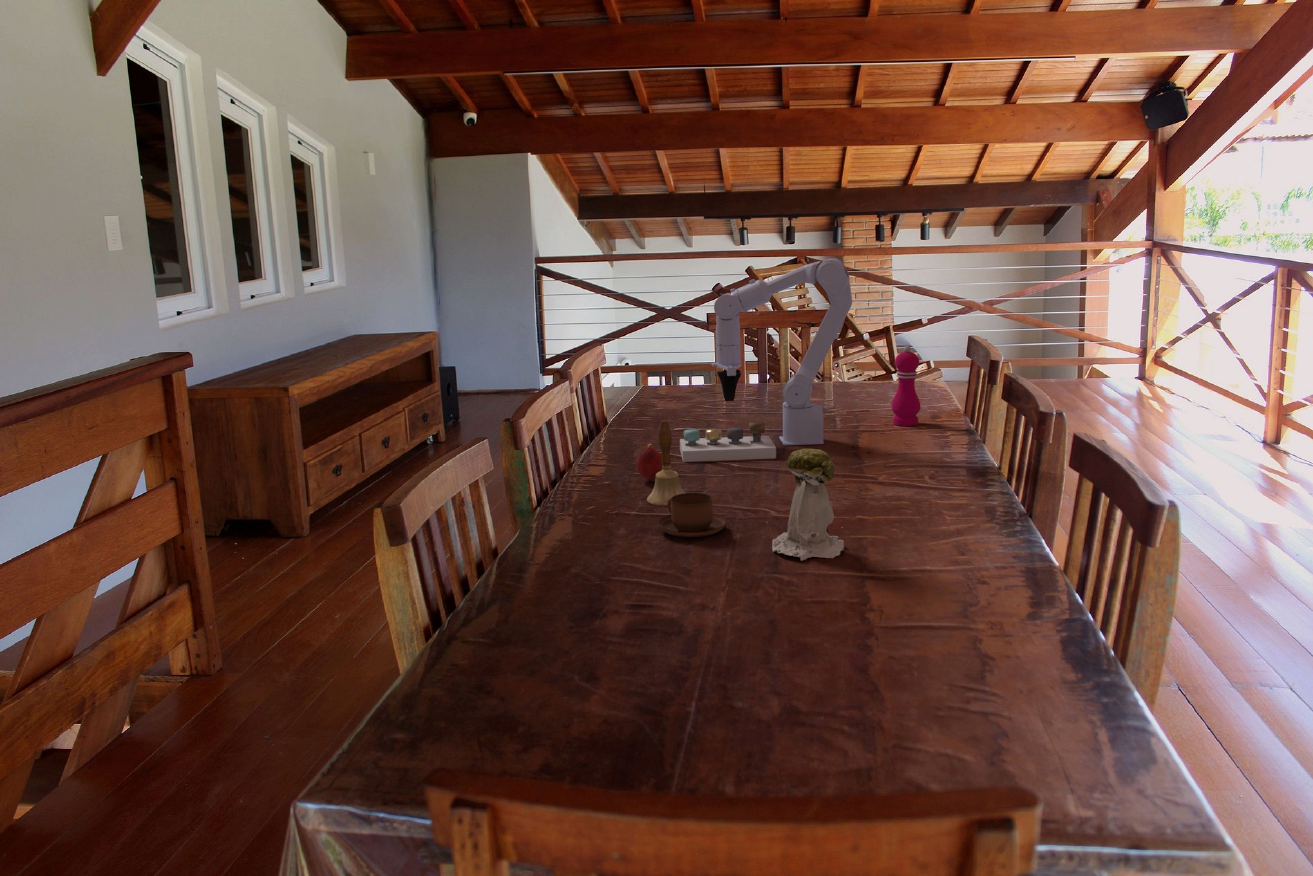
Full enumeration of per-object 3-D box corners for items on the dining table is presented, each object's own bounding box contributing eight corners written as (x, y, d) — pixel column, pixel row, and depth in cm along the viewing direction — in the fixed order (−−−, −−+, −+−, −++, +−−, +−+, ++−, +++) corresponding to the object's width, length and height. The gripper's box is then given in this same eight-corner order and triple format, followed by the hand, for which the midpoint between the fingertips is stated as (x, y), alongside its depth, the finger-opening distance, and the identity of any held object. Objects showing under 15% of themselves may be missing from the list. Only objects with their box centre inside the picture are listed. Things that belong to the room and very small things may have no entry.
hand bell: (672, 508, 191) (670, 426, 188) (638, 502, 196) (635, 422, 193) (697, 497, 198) (695, 418, 194) (663, 491, 203) (661, 414, 199)
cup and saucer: (646, 538, 175) (645, 504, 174) (677, 518, 186) (676, 486, 184) (709, 546, 170) (708, 511, 168) (736, 526, 180) (736, 492, 179)
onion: (661, 485, 207) (660, 447, 205) (634, 484, 208) (633, 447, 206) (667, 477, 213) (665, 441, 211) (640, 477, 214) (639, 440, 212)
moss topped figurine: (763, 541, 171) (762, 444, 167) (829, 535, 173) (830, 439, 169) (783, 563, 160) (783, 460, 156) (854, 556, 162) (855, 454, 158)
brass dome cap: (720, 445, 233) (720, 428, 232) (722, 449, 229) (721, 431, 228) (705, 446, 233) (705, 428, 232) (706, 450, 229) (706, 432, 228)
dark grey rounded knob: (742, 445, 233) (742, 427, 232) (744, 448, 229) (743, 430, 228) (726, 445, 233) (726, 428, 232) (728, 449, 229) (728, 431, 228)
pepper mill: (917, 420, 259) (919, 343, 254) (922, 426, 252) (924, 347, 247) (889, 420, 259) (890, 344, 255) (892, 427, 252) (894, 348, 248)
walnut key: (763, 439, 233) (763, 421, 232) (765, 442, 229) (765, 424, 228) (748, 439, 232) (748, 422, 232) (750, 443, 229) (749, 425, 228)
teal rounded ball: (699, 446, 233) (698, 429, 232) (700, 450, 229) (700, 432, 228) (683, 447, 232) (683, 429, 232) (684, 451, 229) (684, 433, 228)
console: (768, 445, 237) (768, 435, 237) (776, 458, 226) (775, 447, 225) (680, 449, 237) (679, 439, 236) (682, 462, 225) (682, 451, 225)
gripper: (709, 341, 246) (710, 395, 249) (714, 349, 231) (715, 407, 235) (737, 340, 246) (738, 394, 249) (744, 348, 232) (745, 405, 235)
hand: (729, 400), depth 242 cm, fingers closed
